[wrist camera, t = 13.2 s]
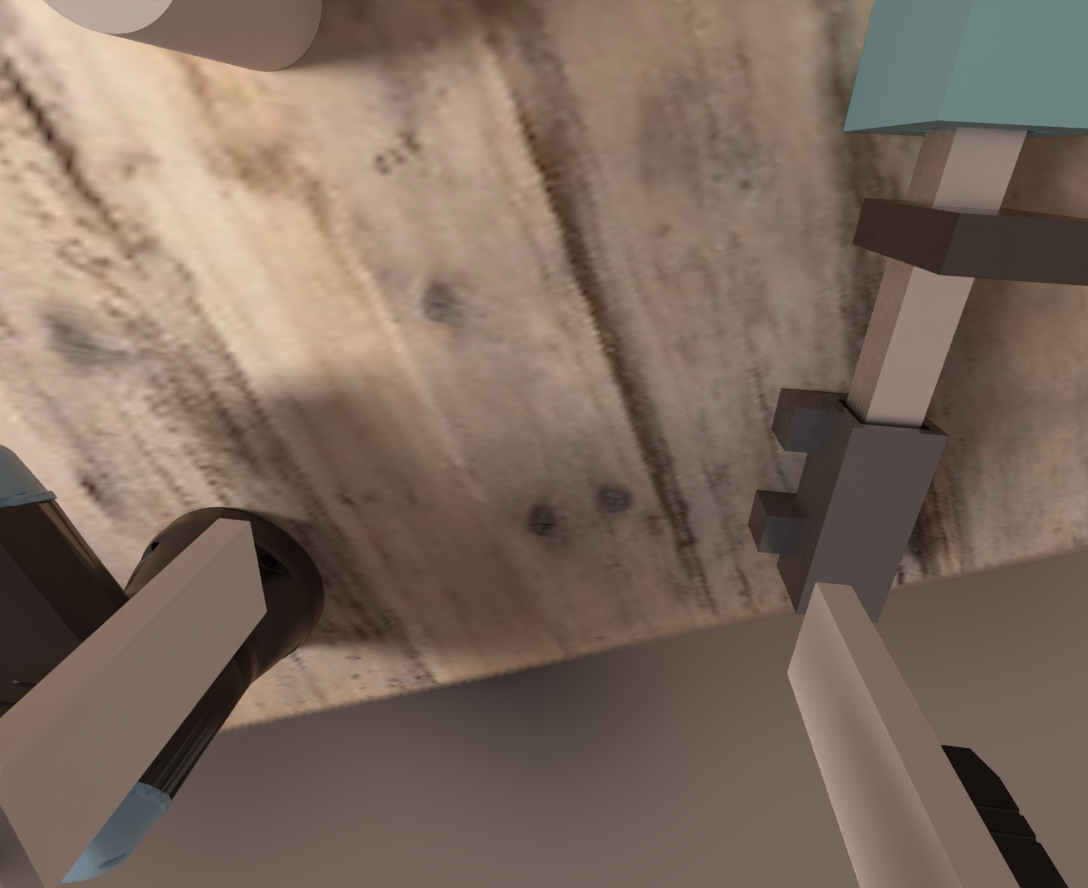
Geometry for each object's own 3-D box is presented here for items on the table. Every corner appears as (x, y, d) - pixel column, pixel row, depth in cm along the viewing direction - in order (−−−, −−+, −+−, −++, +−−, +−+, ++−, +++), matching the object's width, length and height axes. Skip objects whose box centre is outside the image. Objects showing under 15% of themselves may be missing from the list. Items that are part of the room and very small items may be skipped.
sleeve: (853, 546, 45) (901, 625, 38) (745, 535, 46) (772, 610, 38) (907, 384, 40) (978, 438, 32) (784, 374, 40) (824, 424, 33)
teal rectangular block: (990, 139, 33) (1149, 131, 24) (843, 131, 34) (937, 120, 24) (1034, 9, 31) (1234, -62, 21) (874, 2, 31) (994, -70, 21)
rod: (878, 496, 40) (955, 594, 31) (787, 488, 41) (837, 581, 32) (1031, 56, 29) (1217, 10, 20) (904, 50, 30) (1030, 2, 21)
